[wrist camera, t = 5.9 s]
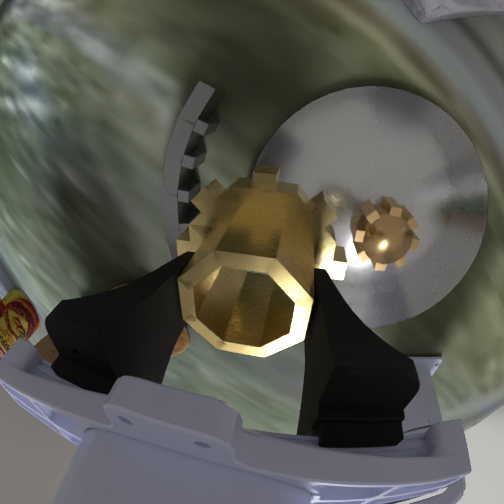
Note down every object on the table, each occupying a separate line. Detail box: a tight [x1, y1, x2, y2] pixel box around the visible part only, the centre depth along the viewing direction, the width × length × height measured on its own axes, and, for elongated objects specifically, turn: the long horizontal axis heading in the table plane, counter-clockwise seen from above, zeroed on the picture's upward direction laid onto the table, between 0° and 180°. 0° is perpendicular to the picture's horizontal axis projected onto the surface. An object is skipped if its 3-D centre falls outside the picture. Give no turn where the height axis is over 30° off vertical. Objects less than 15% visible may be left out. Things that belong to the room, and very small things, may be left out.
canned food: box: [0, 288, 41, 360], centre depth 30 cm, size 8×8×12 cm
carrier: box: [161, 81, 488, 328], centre depth 18 cm, size 20×26×4 cm
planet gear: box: [176, 165, 347, 357], centre depth 13 cm, size 8×8×5 cm
